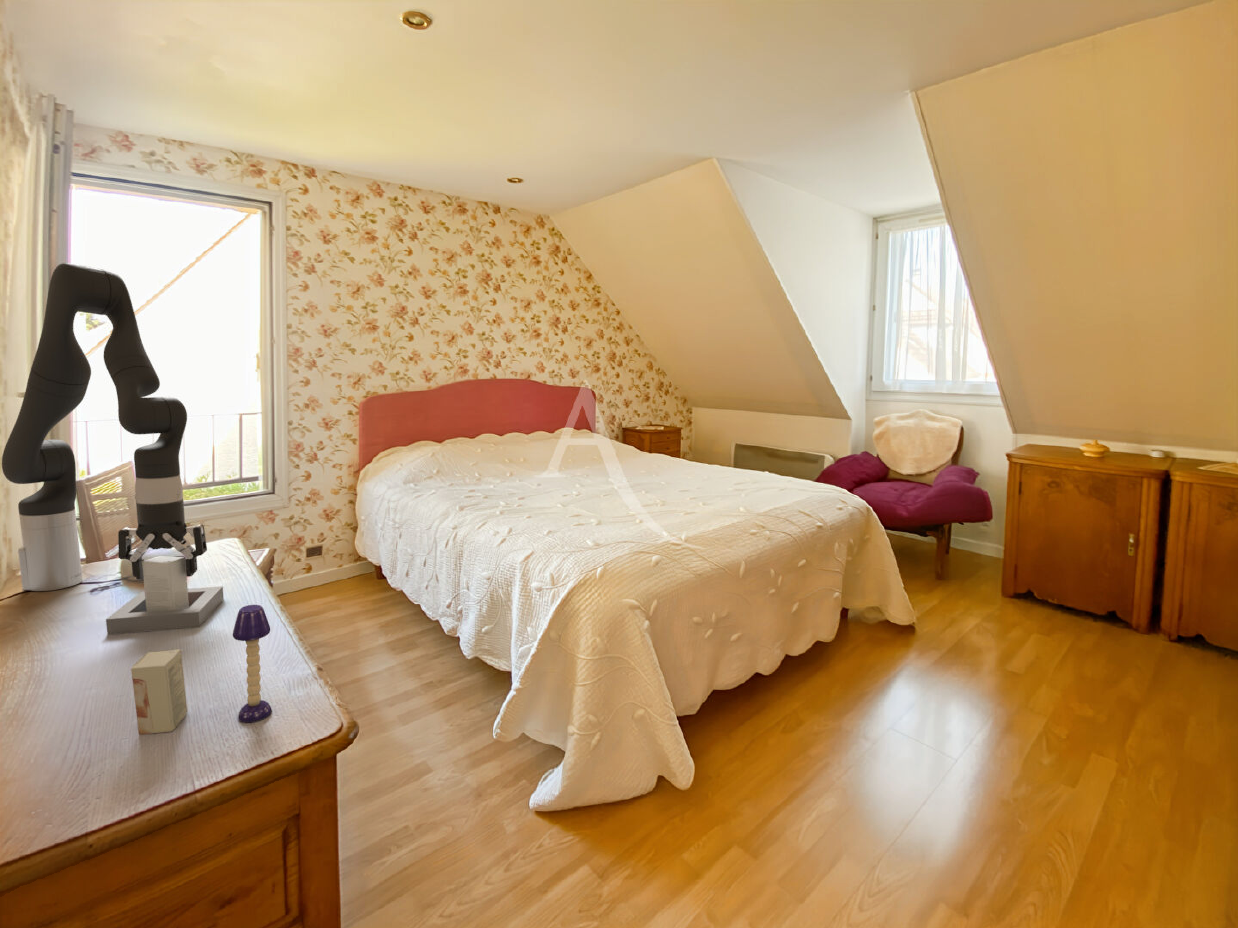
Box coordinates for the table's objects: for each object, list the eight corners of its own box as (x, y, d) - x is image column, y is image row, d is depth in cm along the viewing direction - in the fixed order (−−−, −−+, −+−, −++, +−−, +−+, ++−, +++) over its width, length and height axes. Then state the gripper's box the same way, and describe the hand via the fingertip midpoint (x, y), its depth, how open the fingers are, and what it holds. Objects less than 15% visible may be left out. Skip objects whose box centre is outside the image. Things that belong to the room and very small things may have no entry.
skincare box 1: (190, 612, 126) (186, 556, 124) (173, 620, 121) (169, 563, 120) (163, 610, 126) (158, 555, 124) (145, 618, 122) (140, 561, 120)
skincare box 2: (154, 715, 89) (148, 650, 87) (188, 712, 90) (183, 648, 88) (135, 736, 84) (128, 667, 82) (171, 733, 85) (166, 664, 83)
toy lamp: (281, 707, 92) (275, 601, 89) (264, 724, 87) (257, 614, 85) (248, 707, 92) (242, 601, 89) (230, 724, 87) (222, 613, 84)
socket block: (107, 634, 114) (105, 619, 114) (142, 605, 129) (141, 591, 128) (199, 626, 119) (198, 612, 119) (223, 599, 133) (222, 586, 133)
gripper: (207, 493, 126) (212, 569, 128) (125, 495, 122) (132, 573, 124) (194, 501, 119) (200, 580, 121) (107, 503, 115) (114, 585, 117)
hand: (165, 576), depth 123 cm, fingers open, 8 cm apart
